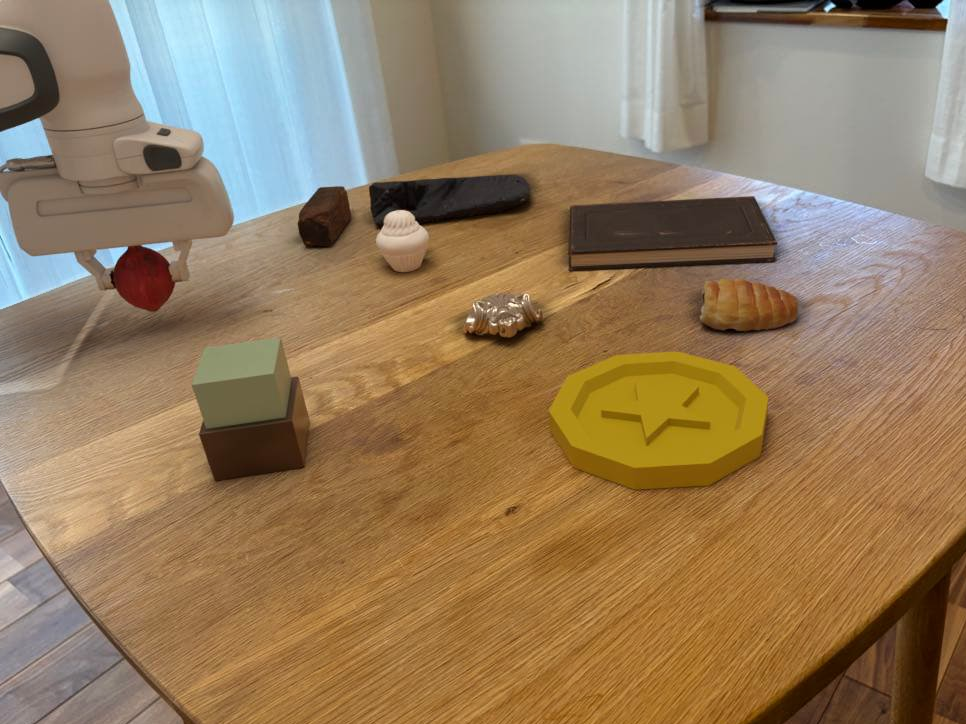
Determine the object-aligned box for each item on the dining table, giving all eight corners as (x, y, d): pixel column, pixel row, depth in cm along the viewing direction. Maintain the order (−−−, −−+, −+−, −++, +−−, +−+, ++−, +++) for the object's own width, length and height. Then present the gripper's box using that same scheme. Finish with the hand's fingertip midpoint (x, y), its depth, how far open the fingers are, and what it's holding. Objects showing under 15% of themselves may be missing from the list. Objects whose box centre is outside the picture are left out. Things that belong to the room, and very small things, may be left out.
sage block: (206, 429, 66) (191, 384, 63) (217, 390, 71) (204, 347, 68) (285, 417, 66) (273, 373, 64) (291, 379, 71) (280, 336, 69)
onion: (193, 308, 91) (172, 237, 87) (141, 328, 88) (117, 254, 83) (167, 295, 95) (146, 225, 90) (116, 313, 91) (91, 241, 87)
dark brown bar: (324, 219, 118) (317, 186, 115) (352, 218, 117) (346, 184, 115) (302, 249, 109) (293, 214, 106) (332, 248, 108) (325, 212, 106)
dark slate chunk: (533, 218, 112) (530, 182, 110) (365, 231, 113) (359, 196, 110) (529, 181, 125) (527, 149, 123) (379, 193, 126) (374, 161, 123)
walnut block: (214, 481, 67) (198, 434, 65) (226, 432, 73) (212, 387, 71) (304, 467, 68) (292, 420, 66) (309, 420, 74) (298, 375, 72)
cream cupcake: (419, 279, 98) (410, 220, 94) (371, 275, 100) (360, 218, 96) (441, 258, 103) (433, 201, 99) (395, 255, 105) (385, 199, 101)
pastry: (792, 303, 87) (796, 268, 84) (801, 335, 81) (805, 298, 79) (698, 304, 88) (699, 269, 86) (700, 335, 82) (701, 299, 80)
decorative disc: (511, 422, 72) (508, 402, 71) (666, 352, 80) (666, 332, 79) (647, 520, 60) (647, 498, 59) (812, 426, 68) (815, 405, 67)
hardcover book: (775, 261, 95) (777, 242, 94) (568, 271, 97) (567, 252, 96) (752, 212, 109) (753, 194, 108) (571, 221, 111) (570, 203, 109)
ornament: (470, 354, 82) (466, 320, 80) (459, 323, 88) (455, 291, 86) (551, 340, 83) (549, 306, 81) (535, 311, 89) (533, 278, 87)
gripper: (-25, 170, 78) (31, 308, 85) (207, 148, 81) (241, 284, 88) (0, 152, 83) (50, 283, 91) (217, 132, 86) (248, 261, 93)
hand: (146, 283), depth 89 cm, fingers closed on onion, 6 cm apart
